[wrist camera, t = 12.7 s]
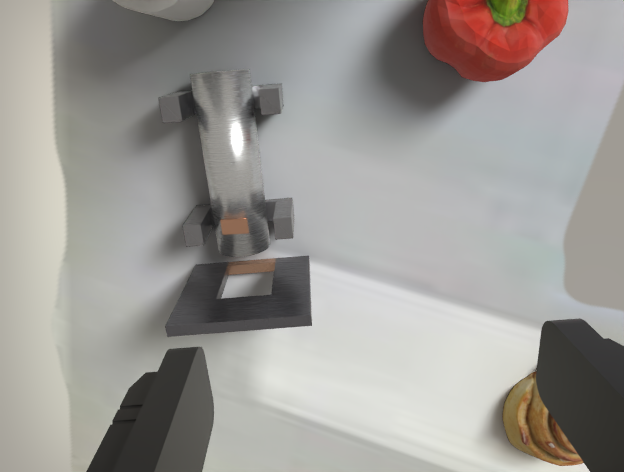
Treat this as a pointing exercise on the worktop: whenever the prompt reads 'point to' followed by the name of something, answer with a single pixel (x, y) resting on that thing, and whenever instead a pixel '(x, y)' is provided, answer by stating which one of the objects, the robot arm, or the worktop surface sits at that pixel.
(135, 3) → the can
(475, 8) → the vegetable
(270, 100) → the grey metal blocks
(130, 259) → the worktop surface
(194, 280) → the frame
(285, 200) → the grey u-shaped bracket
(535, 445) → the pastry
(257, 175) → the tube
